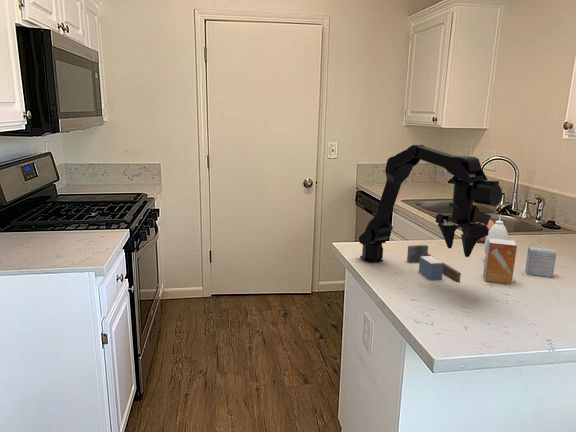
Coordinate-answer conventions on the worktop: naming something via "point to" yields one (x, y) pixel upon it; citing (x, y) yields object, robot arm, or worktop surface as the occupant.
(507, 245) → the small box
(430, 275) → the boxed book
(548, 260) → the medicine box
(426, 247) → the book rack
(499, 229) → the sauce bottle
